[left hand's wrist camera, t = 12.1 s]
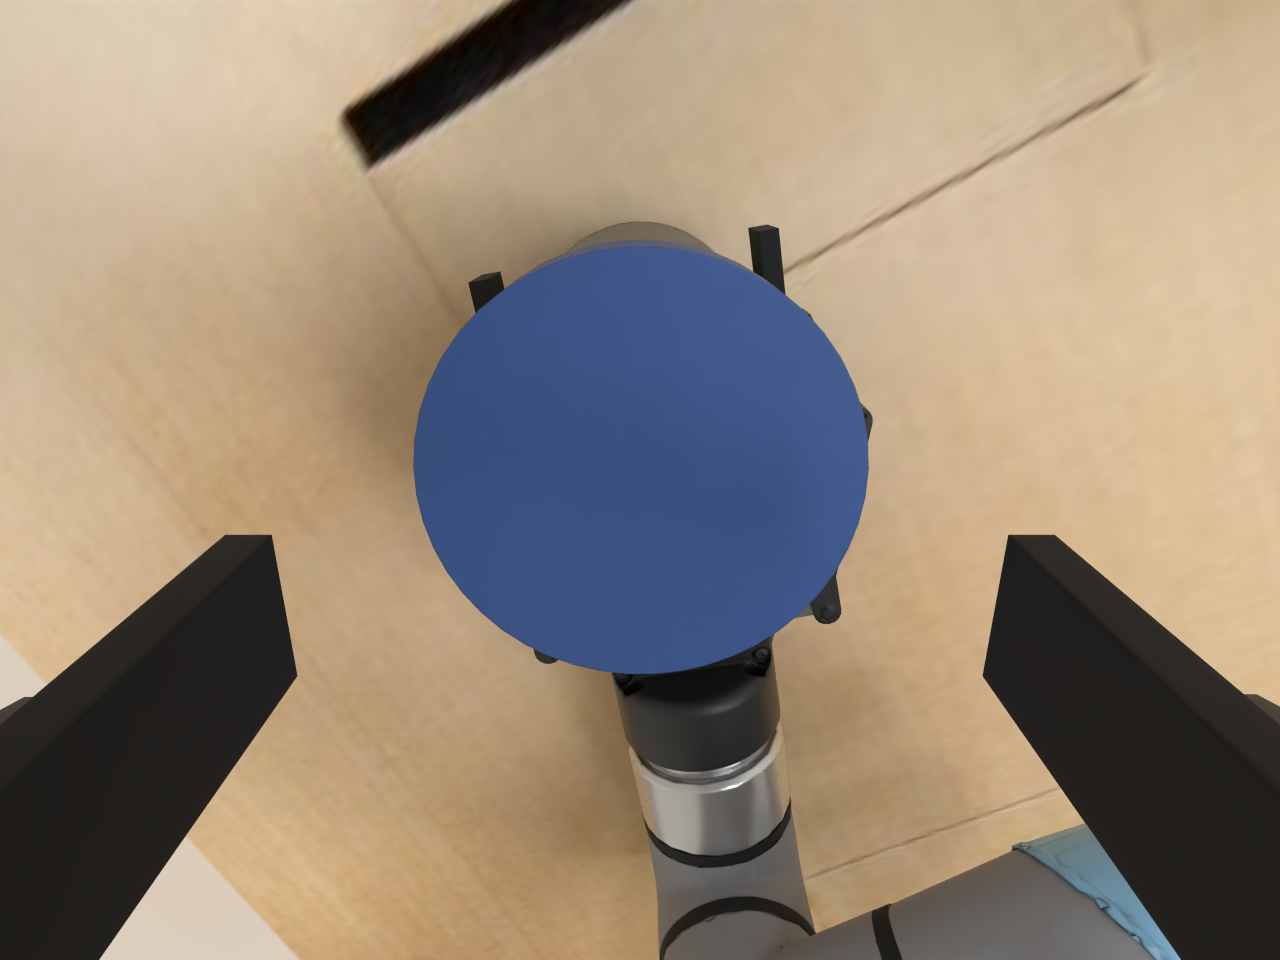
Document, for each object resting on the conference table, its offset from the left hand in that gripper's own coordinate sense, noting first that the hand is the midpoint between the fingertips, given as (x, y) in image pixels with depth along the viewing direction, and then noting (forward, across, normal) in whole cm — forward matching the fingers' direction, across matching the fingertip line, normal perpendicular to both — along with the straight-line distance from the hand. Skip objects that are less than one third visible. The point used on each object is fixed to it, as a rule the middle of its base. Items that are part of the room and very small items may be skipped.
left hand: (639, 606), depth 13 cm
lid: (+6, 0, 0) cm, 6 cm away
